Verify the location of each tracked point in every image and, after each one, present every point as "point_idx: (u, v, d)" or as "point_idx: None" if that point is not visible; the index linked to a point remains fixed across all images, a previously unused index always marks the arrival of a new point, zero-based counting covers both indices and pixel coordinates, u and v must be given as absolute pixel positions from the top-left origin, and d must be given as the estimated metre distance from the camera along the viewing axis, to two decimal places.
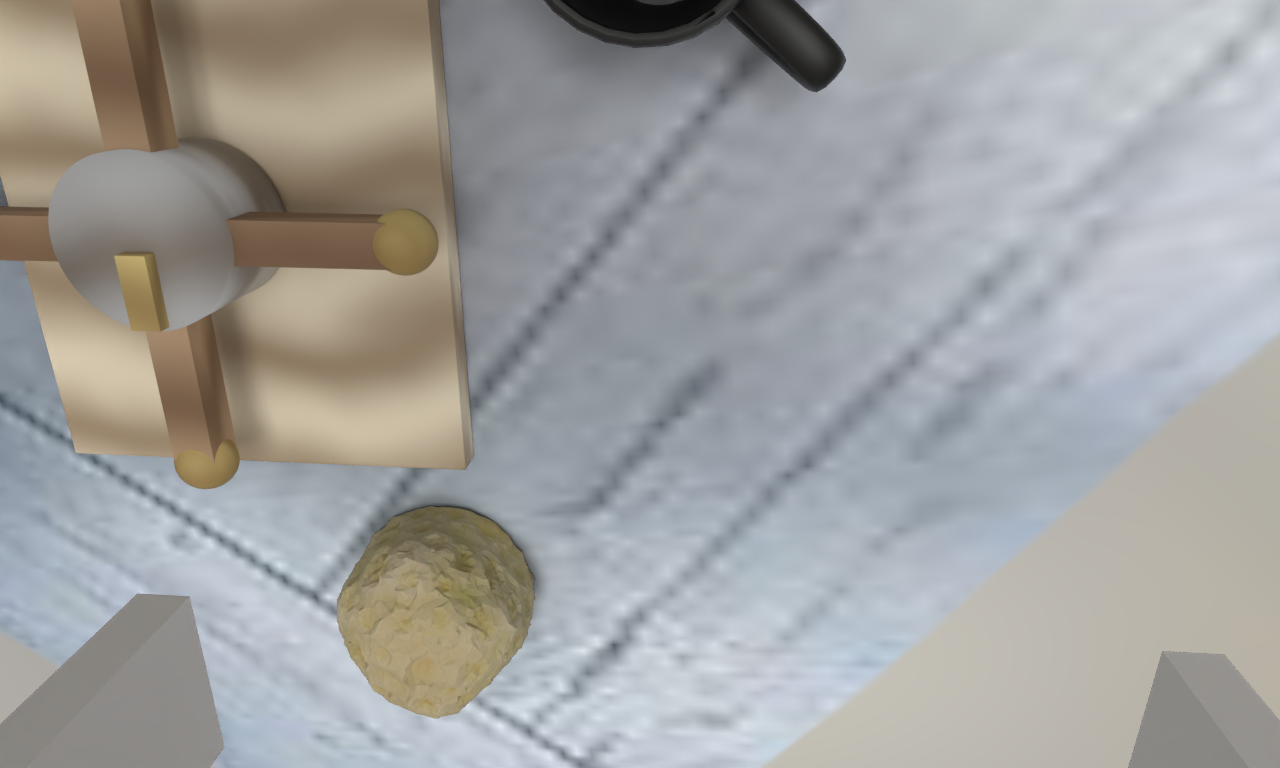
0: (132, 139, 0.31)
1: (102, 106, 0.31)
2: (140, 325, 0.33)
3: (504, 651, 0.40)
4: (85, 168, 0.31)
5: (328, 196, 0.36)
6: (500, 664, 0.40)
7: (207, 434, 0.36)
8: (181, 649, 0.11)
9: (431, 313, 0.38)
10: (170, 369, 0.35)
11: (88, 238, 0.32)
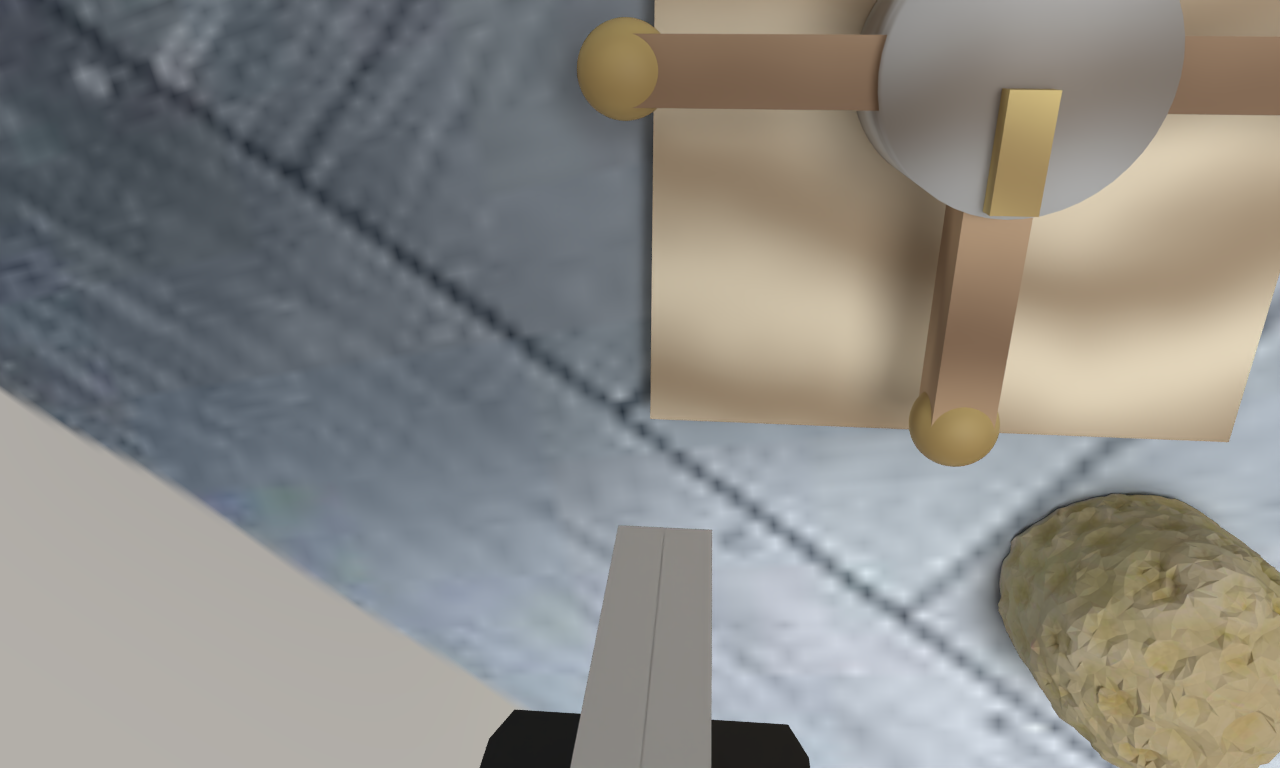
0: None
1: None
2: (1008, 207, 0.21)
3: None
4: None
5: None
6: None
7: (998, 384, 0.24)
8: None
9: (1264, 211, 0.26)
10: (980, 283, 0.23)
11: (949, 66, 0.20)
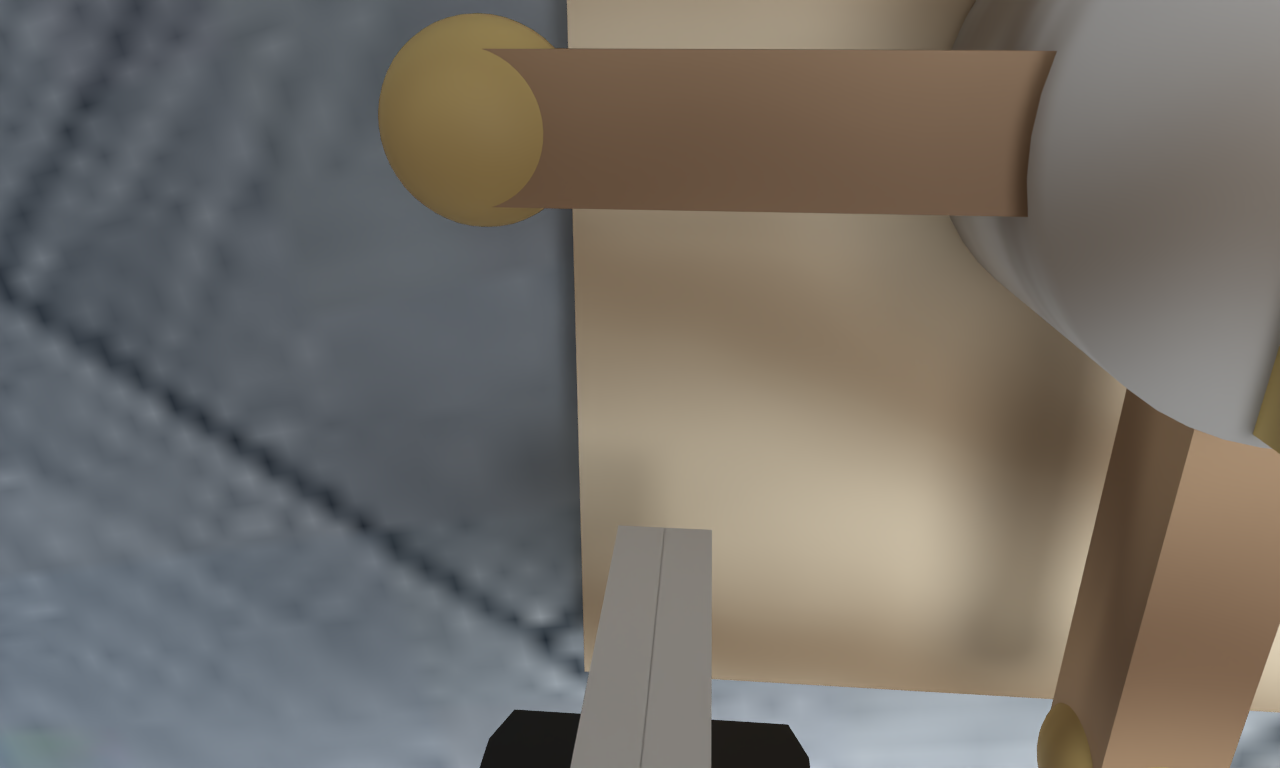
0: None
1: None
2: None
3: None
4: None
5: None
6: None
7: (1231, 729, 0.12)
8: None
9: None
10: (1216, 556, 0.11)
11: (1210, 124, 0.09)
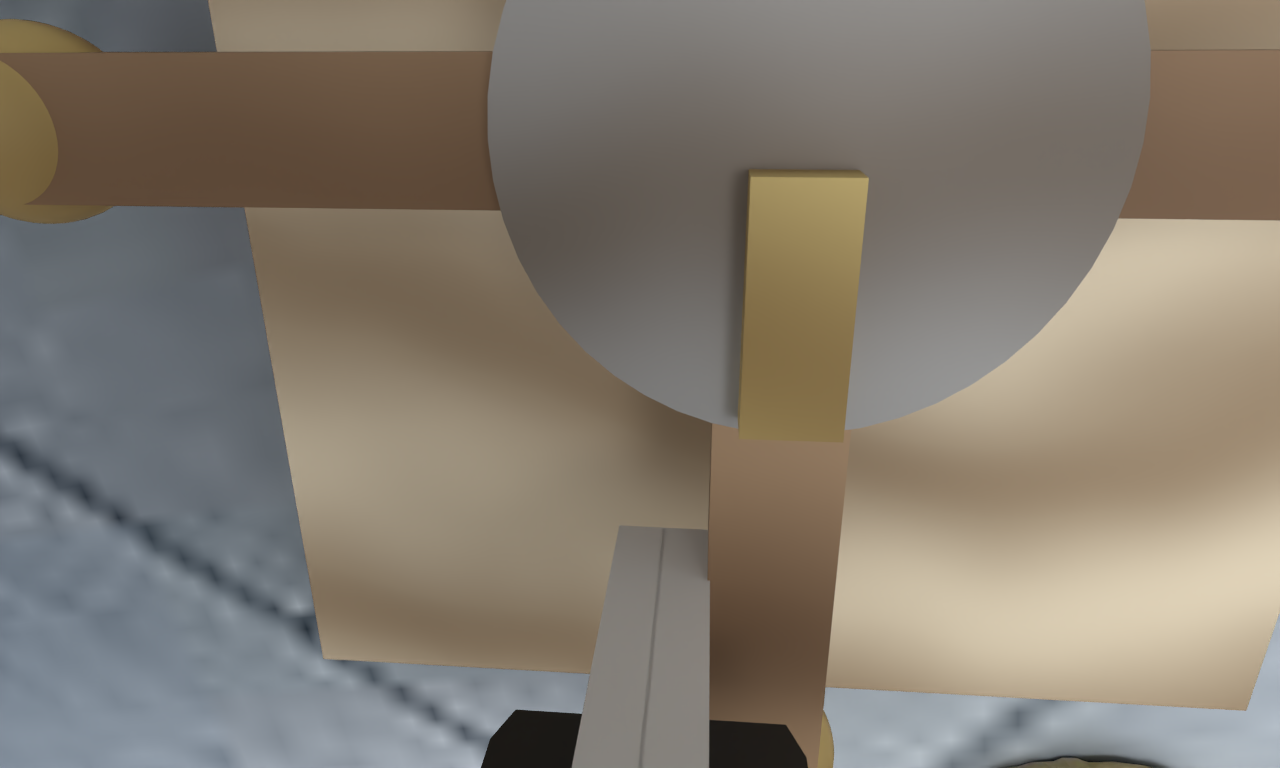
0: None
1: None
2: (777, 421, 0.10)
3: None
4: None
5: None
6: None
7: (815, 706, 0.13)
8: None
9: None
10: (761, 537, 0.12)
11: (628, 121, 0.09)
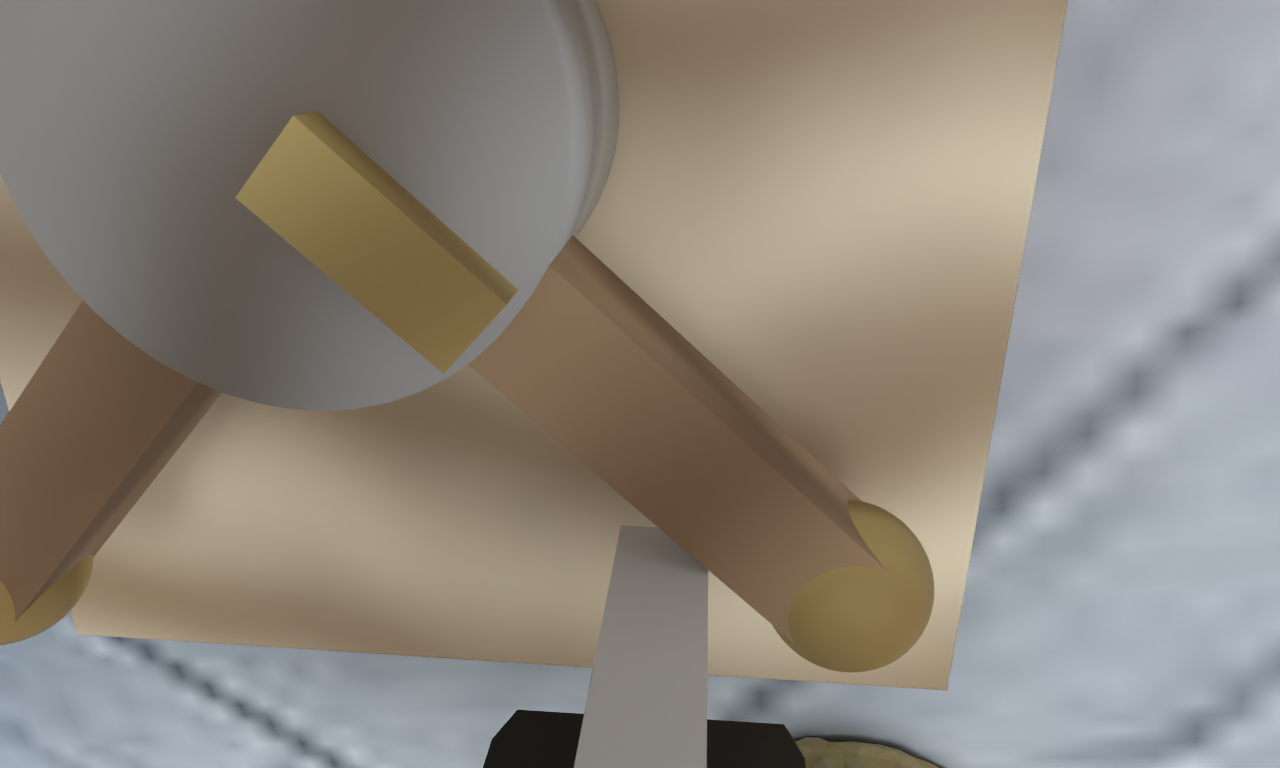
0: None
1: None
2: (450, 336, 0.10)
3: None
4: (0, 46, 0.10)
5: (737, 36, 0.14)
6: None
7: (815, 512, 0.12)
8: None
9: (951, 343, 0.15)
10: (608, 421, 0.11)
11: (171, 240, 0.10)
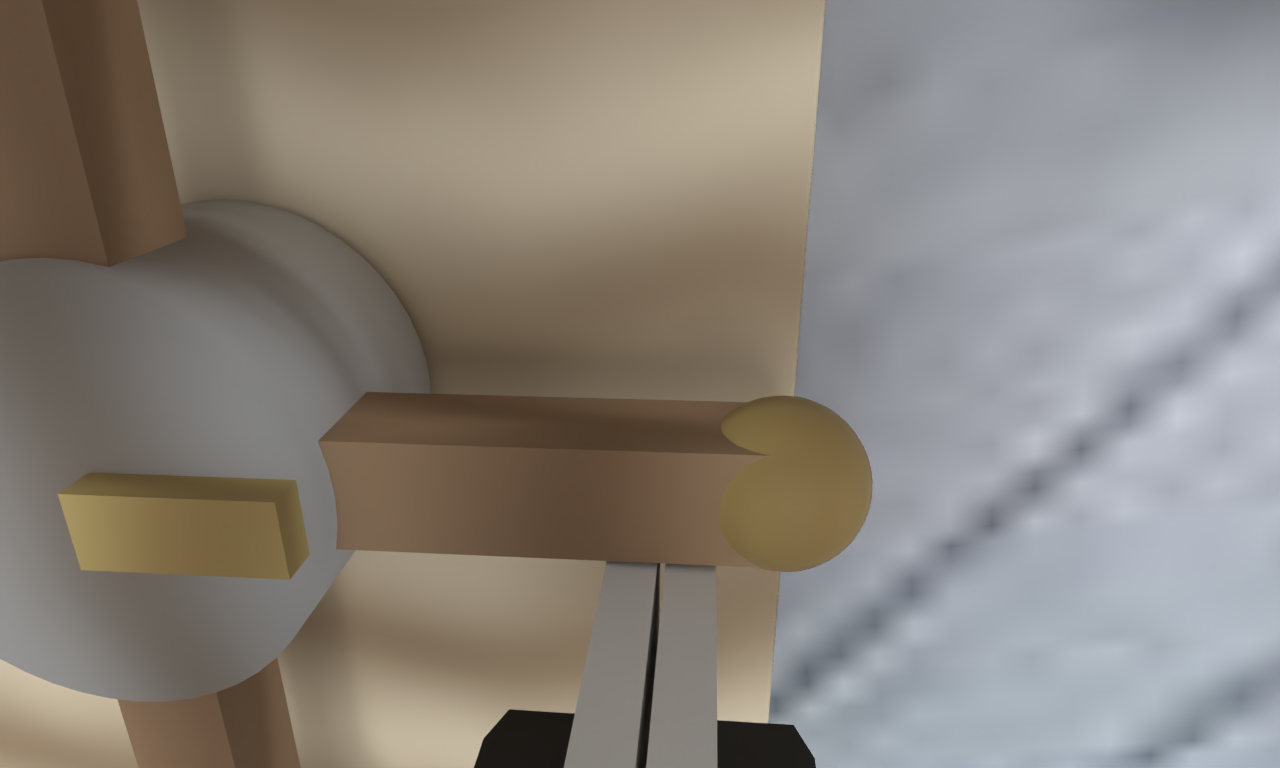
0: None
1: None
2: (267, 552, 0.11)
3: None
4: None
5: (528, 330, 0.16)
6: None
7: (667, 456, 0.12)
8: (659, 572, 0.13)
9: (732, 570, 0.18)
10: (461, 512, 0.12)
11: (100, 619, 0.13)
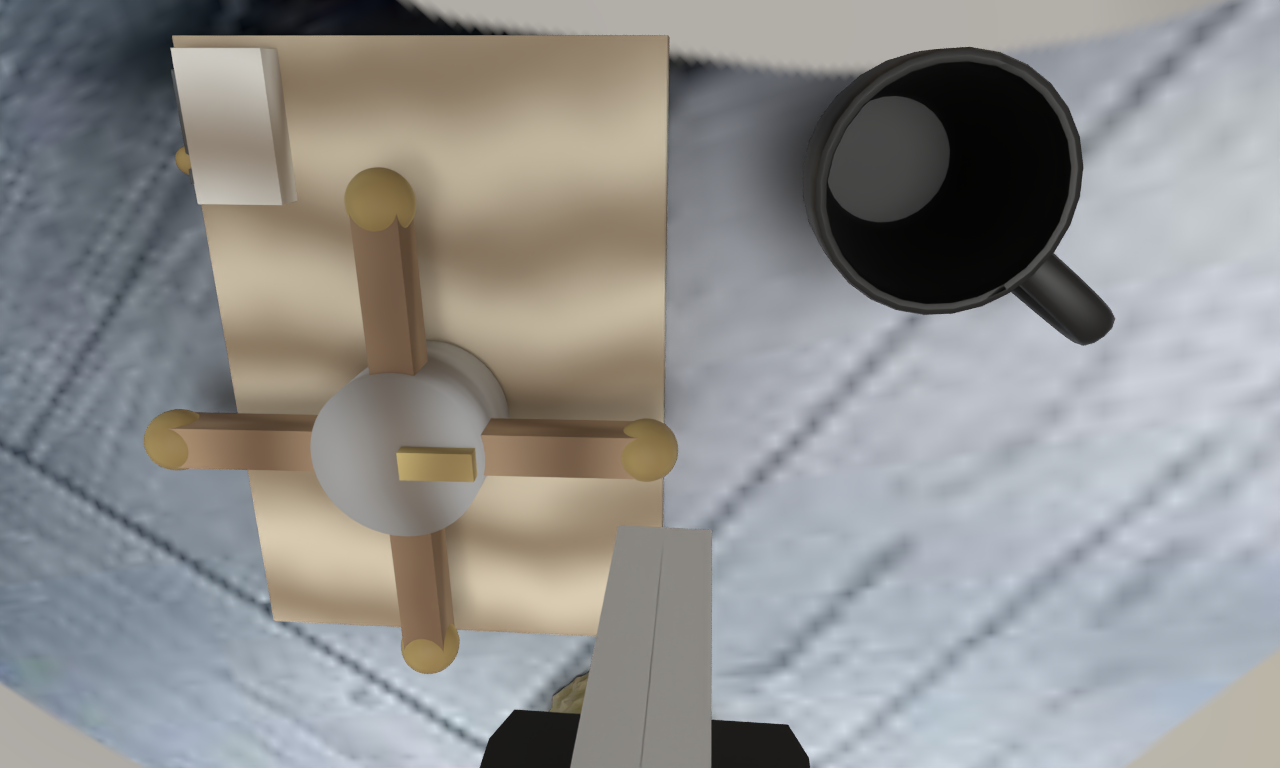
0: (308, 445, 0.35)
1: (284, 464, 0.35)
2: (466, 472, 0.33)
3: None
4: (331, 489, 0.35)
5: (550, 392, 0.38)
6: None
7: (603, 439, 0.34)
8: None
9: (641, 497, 0.40)
10: (530, 460, 0.34)
11: (395, 502, 0.35)
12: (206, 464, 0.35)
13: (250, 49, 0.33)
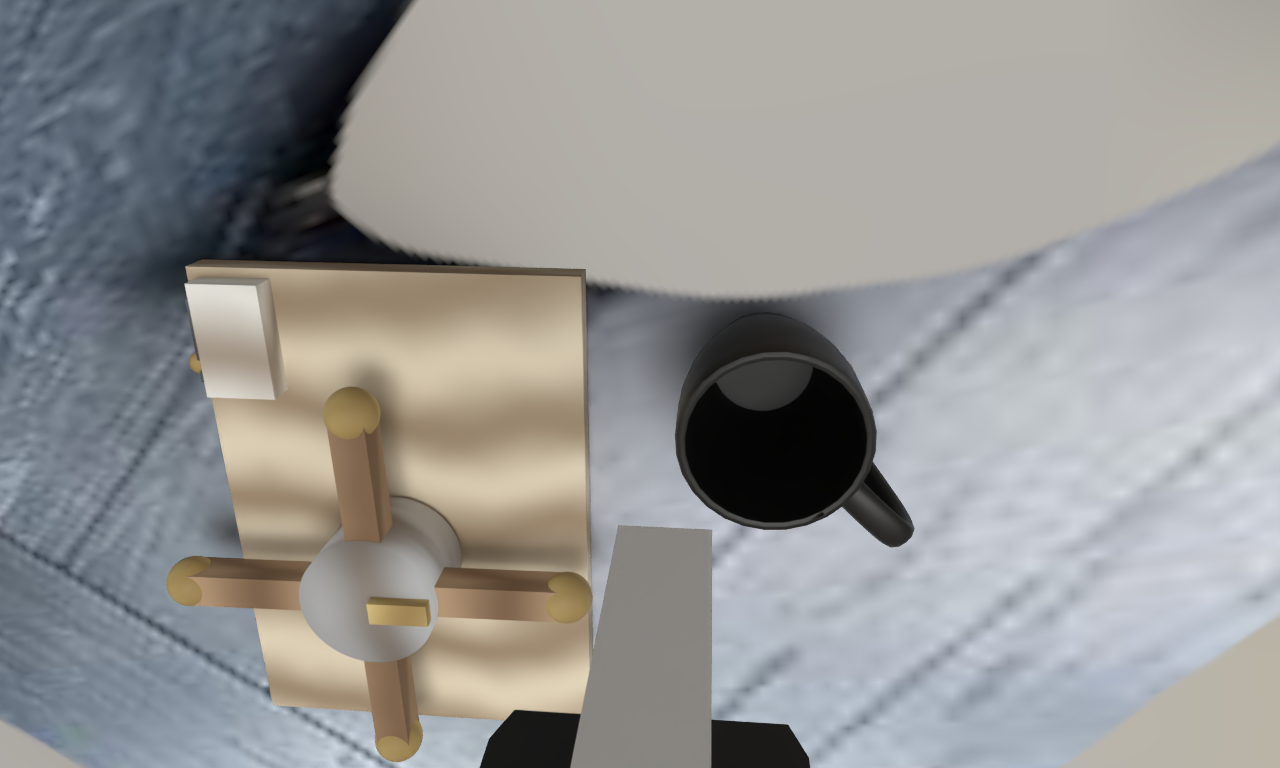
0: (297, 591, 0.43)
1: (278, 604, 0.44)
2: (422, 619, 0.42)
3: None
4: (316, 626, 0.43)
5: (495, 537, 0.47)
6: None
7: (531, 592, 0.42)
8: None
9: None
10: (474, 607, 0.43)
11: (367, 637, 0.43)
12: (216, 603, 0.44)
13: (248, 286, 0.41)
